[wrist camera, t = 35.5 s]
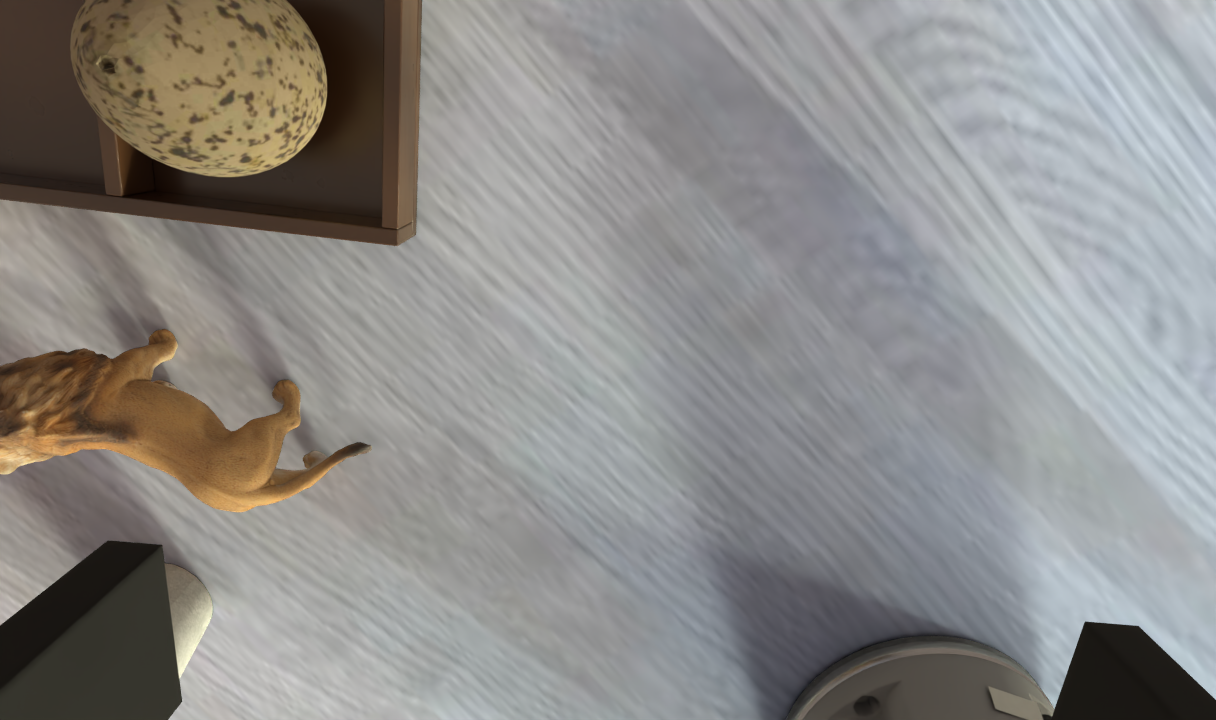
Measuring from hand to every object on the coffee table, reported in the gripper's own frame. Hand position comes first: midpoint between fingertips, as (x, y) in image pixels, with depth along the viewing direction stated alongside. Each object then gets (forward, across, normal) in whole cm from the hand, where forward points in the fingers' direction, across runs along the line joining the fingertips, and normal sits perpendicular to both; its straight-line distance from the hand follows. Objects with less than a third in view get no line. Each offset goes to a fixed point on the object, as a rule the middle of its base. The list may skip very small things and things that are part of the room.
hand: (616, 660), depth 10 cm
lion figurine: (+24, -19, -7) cm, 31 cm away
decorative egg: (+23, -15, +8) cm, 29 cm away
